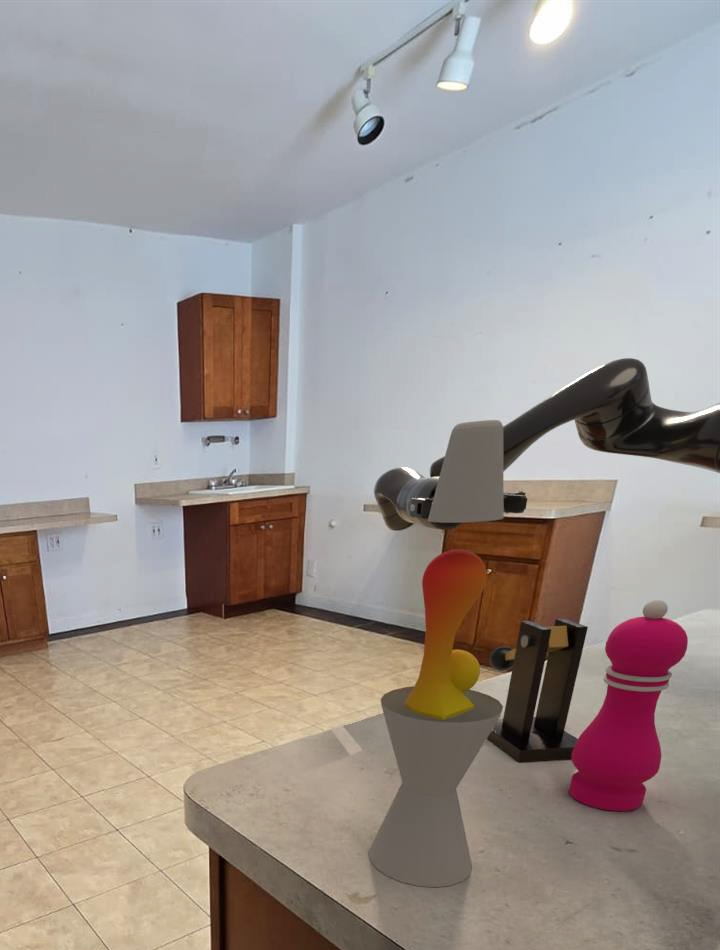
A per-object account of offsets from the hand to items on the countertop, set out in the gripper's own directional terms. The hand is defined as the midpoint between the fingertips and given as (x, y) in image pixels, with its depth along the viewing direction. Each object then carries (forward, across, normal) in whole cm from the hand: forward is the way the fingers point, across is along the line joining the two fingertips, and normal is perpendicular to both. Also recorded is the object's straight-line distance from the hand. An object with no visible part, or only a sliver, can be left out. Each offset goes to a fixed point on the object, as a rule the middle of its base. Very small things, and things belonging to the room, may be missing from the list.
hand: (490, 506), depth 85 cm
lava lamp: (+43, -24, +27) cm, 56 cm away
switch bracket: (+19, -1, +26) cm, 33 cm away
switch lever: (+16, -1, +17) cm, 23 cm away
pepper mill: (+34, -1, +27) cm, 43 cm away
